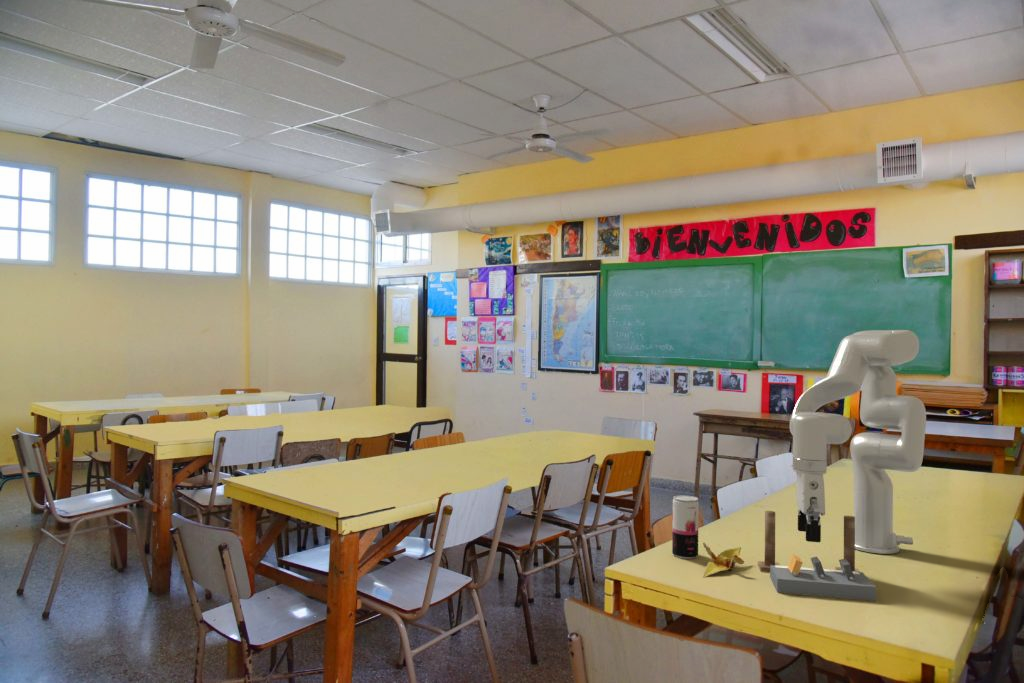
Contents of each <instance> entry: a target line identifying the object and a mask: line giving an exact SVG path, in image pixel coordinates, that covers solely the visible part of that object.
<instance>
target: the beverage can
mask: <svg viewBox="0 0 1024 683" xmlns="http://www.w3.org/2000/svg"><path fill="white" fill-rule="evenodd" d="M699 503H700V502H699V498H698V497H697V496H691V495H675V496H673V499H672V538H671V539H672V547H671V548H672V549H671V550H672V551H671V552H672V554H673V555H674V557H676V558H679V559H689V560H691V559H696V558H697V557H698V556H699V512H700V511H699V510H700V509H699V506H700V505H699Z"/></svg>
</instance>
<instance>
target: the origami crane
mask: <svg viewBox="0 0 1024 683" xmlns="http://www.w3.org/2000/svg"><path fill="white" fill-rule="evenodd" d="M702 544H703V547H704V548H705V551H706V553H707V555H708V556H710V558H711V559H712V561H709V562H707V566H706V568H705V571H704V573H703V578H706V577H708V576H713V574H717V573H720V572H721V571H728V572H732V571H733V570H732V569H734V567H735V565H736V564H739V565H744V563H745V560H743V559H742V558H741V557H740V556H741V550H742V547H741V546H738V547H733V548H728V549H726V550H723V551H722V552H720V553H719V554H717V555H716V554H715V553H714V552H712V550H711V548H710V546H708V545H707V543H705V542H702Z"/></svg>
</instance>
